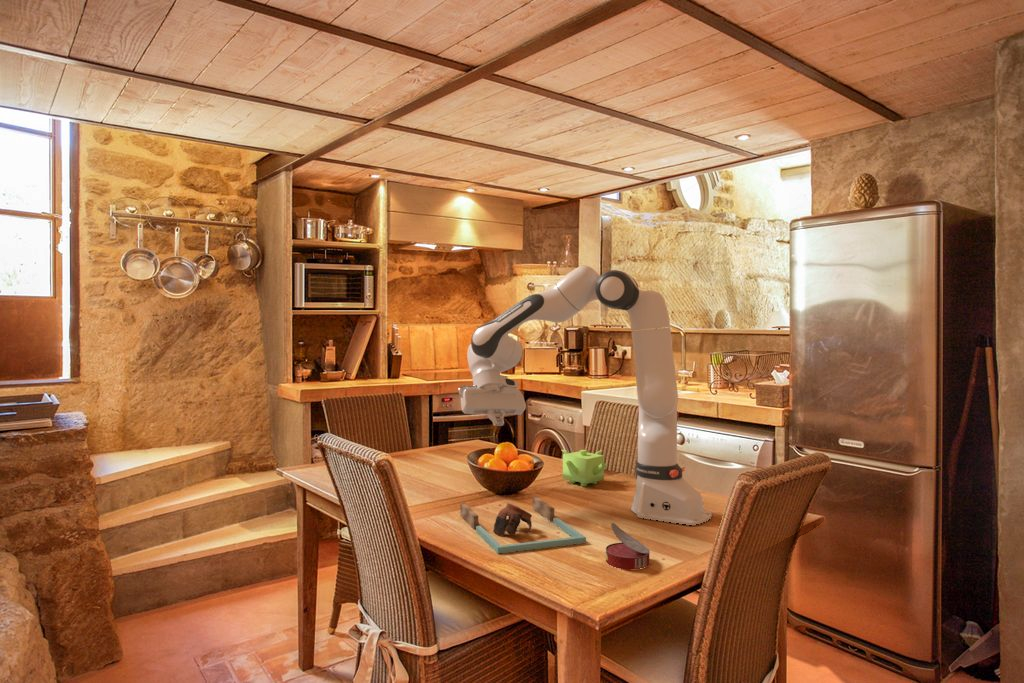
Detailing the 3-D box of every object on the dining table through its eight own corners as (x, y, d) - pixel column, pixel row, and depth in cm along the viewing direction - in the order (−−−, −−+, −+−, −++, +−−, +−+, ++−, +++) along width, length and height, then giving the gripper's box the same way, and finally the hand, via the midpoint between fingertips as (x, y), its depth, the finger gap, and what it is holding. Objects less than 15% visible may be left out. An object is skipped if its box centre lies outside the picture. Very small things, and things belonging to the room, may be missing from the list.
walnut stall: (460, 515, 184) (460, 503, 184) (536, 508, 192) (536, 496, 192) (473, 529, 172) (474, 516, 172) (554, 521, 180) (554, 508, 180)
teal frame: (476, 531, 170) (476, 526, 170) (557, 523, 178) (557, 517, 178) (497, 553, 154) (497, 547, 154) (585, 543, 162) (586, 537, 162)
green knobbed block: (560, 477, 231) (561, 445, 231) (601, 478, 231) (601, 446, 231) (563, 488, 216) (563, 454, 216) (606, 488, 216) (607, 454, 216)
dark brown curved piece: (488, 529, 174) (502, 500, 176) (520, 545, 174) (534, 516, 176) (492, 531, 163) (507, 500, 165) (526, 548, 163) (540, 517, 165)
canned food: (620, 574, 155) (629, 532, 159) (654, 582, 147) (664, 538, 151) (589, 561, 149) (600, 517, 152) (624, 569, 141) (634, 523, 145)
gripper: (460, 379, 195) (470, 418, 187) (521, 381, 204) (533, 419, 196) (453, 391, 199) (462, 430, 191) (513, 393, 208) (524, 430, 200)
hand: (499, 424), depth 193 cm, fingers closed
